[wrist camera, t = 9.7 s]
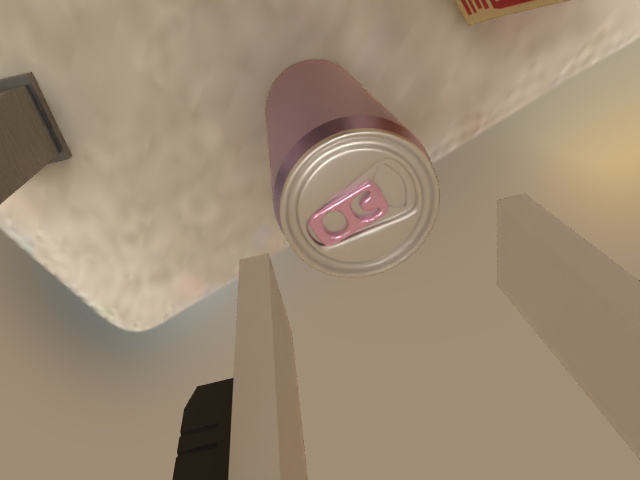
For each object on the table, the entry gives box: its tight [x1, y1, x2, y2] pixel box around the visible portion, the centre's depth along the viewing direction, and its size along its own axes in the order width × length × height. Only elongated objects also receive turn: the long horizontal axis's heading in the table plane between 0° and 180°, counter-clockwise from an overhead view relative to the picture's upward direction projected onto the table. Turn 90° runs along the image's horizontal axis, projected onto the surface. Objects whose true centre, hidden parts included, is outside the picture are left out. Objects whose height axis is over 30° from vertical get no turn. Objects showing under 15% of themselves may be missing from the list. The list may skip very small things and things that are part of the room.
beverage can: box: [266, 60, 440, 278], centre depth 22 cm, size 6×6×15 cm
